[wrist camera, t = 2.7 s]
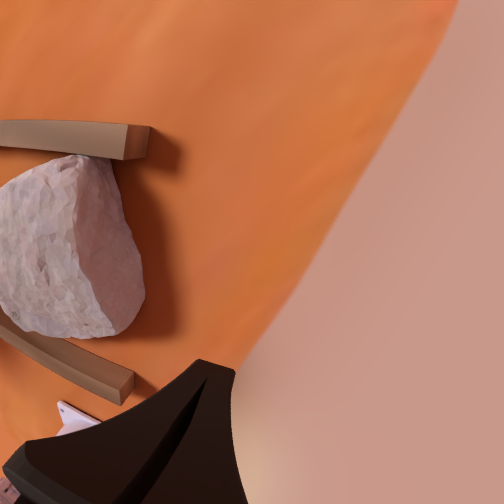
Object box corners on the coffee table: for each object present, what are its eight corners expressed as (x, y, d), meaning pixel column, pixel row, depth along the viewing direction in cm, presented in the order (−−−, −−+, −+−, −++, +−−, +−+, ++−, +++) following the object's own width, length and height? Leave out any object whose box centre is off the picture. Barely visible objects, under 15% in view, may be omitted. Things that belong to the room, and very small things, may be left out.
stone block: (174, 297, 18) (112, 130, 14) (139, 356, 14) (46, 156, 10) (51, 303, 22) (-2, 188, 17) (16, 341, 18) (-50, 216, 13)
